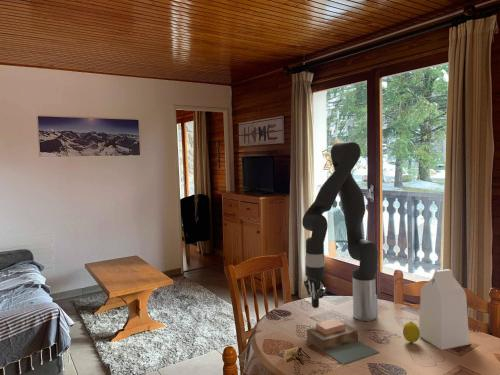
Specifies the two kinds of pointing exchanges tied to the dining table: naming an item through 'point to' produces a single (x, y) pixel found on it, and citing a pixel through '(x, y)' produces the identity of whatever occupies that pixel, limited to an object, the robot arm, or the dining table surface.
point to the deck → (332, 337)
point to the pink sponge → (330, 326)
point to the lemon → (411, 332)
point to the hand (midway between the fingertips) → (315, 307)
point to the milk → (443, 311)
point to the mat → (351, 352)
